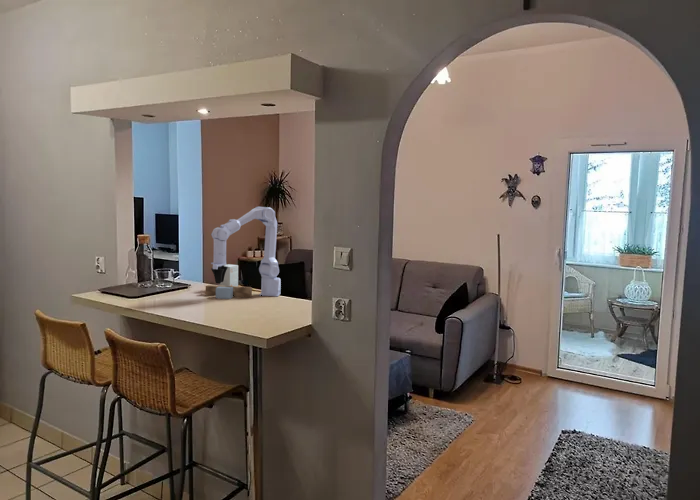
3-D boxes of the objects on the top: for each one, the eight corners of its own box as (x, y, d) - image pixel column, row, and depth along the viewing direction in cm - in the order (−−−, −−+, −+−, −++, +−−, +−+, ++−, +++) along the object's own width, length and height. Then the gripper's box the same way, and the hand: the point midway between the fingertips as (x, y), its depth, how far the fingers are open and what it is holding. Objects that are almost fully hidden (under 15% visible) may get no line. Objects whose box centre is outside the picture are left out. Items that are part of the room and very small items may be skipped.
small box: (227, 288, 281) (228, 264, 280) (238, 289, 279) (238, 265, 278) (218, 291, 274) (219, 265, 272) (229, 292, 272) (230, 266, 270)
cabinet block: (232, 297, 260) (232, 287, 259) (230, 299, 255) (230, 288, 255) (217, 296, 260) (217, 286, 260) (214, 298, 256) (214, 288, 255)
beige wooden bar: (251, 296, 264) (252, 287, 263) (250, 297, 260) (250, 288, 260) (207, 293, 265) (208, 284, 265) (205, 295, 262) (205, 286, 261)
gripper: (216, 251, 256) (215, 279, 257) (206, 254, 242) (205, 284, 243) (230, 252, 256) (230, 280, 257) (221, 255, 241) (221, 285, 243)
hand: (219, 282), depth 250 cm, fingers open, 3 cm apart
